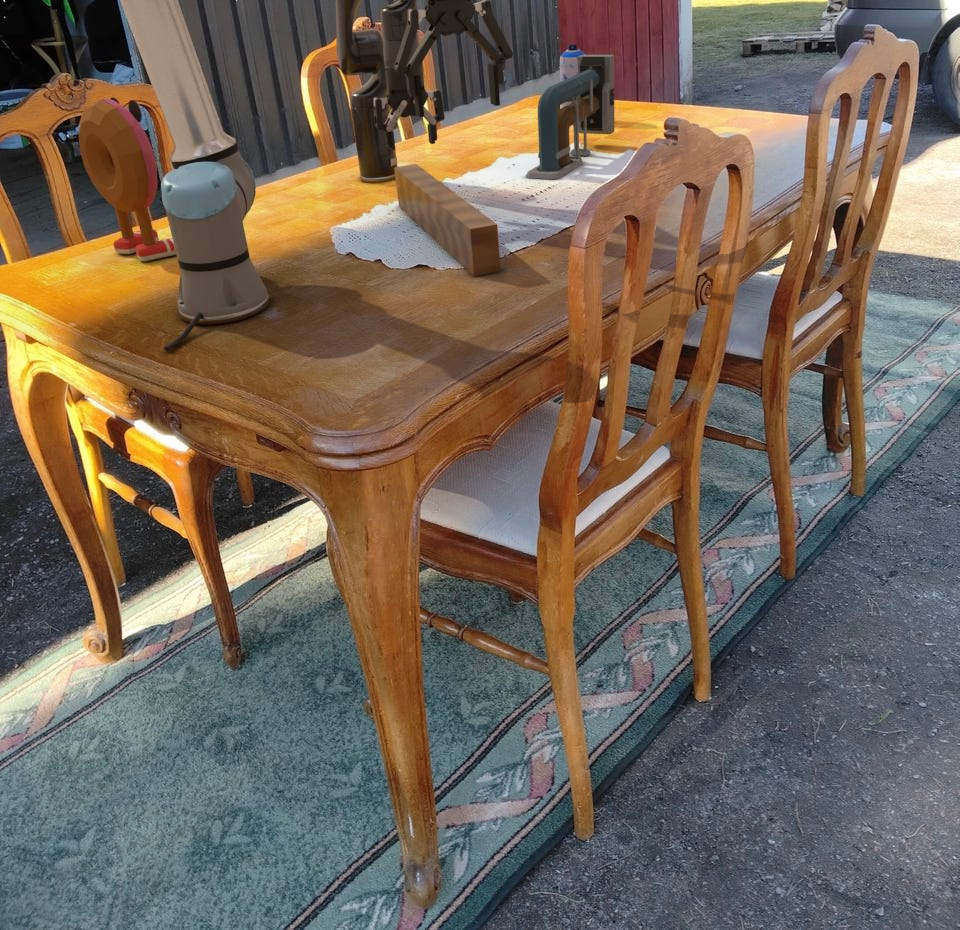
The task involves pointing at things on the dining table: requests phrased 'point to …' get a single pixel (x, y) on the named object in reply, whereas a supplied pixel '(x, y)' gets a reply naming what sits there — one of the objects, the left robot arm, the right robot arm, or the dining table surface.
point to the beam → (449, 220)
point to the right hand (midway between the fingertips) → (412, 146)
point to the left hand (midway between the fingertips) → (458, 110)
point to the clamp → (574, 115)
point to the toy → (123, 172)
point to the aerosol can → (569, 65)
